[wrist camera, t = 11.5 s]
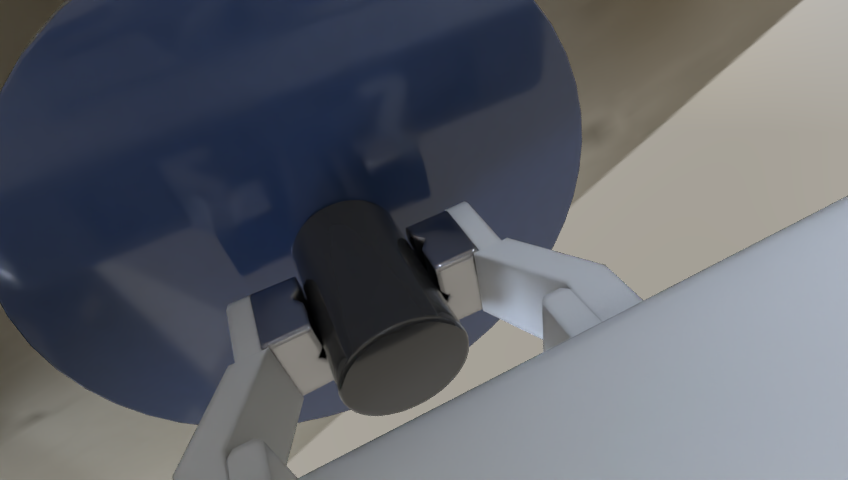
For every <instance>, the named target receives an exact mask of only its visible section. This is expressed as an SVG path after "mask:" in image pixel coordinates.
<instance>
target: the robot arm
mask: <svg viewBox="0 0 848 480" xmlns="http://www.w3.org/2000/svg"><path fill="white" fill-rule="evenodd" d="M406 235H407V239H408V242H409V243H410V245H411V246H412V248H413V250H414V251H415V253H416V254H417V256H418V258H419V259H420V261H421V262H422V264H423V265H424V267H425V268H426V270H427V271H428V273H429V275H430V276H431V278H432V279H433V281H434V282H435V284H436V285H437V287H438V288H439V290H440V292H441V293H442V295H443V296H444V298H445V299H446V301H447V302H448V304H449V305H450V307H451V308H452V310H453V312H454V313H455V315H456V316H457V318H458V319H459V320H460V319H462V318H464V317H466V316H468V315H471V314H473V313H475V312H477V311H480V310H482V309H483V311H485V312H487V313H489V314H491V315H493V316H495V317H497V318H499V319H501V320H504V321H506V322H508V323H510V324H512V325H514V326H516V327H518V328H520V329H522V330H524V331H526V332H528V333H530V334H532V335H534V336H536V337H538V338H540V339H542V340H543V349H544V352H543V353H541V354H539V355H537V356H535V357H533V358H531V359H529V360H527V361H525V362H524V363H521V364H520V365H518V366H516V367H514V368H512V369H510V370H508V371H506V372H504V373H502V374H500V375H498V376H496V377H495V378H492V379H490V380H489V381H487V382H485V383H483V384H481V385H479V386H477V387H475V388H473V389H471V390H469V391H467V392H465V393H463V394H461V395H459V396H458V397H456V398H454V399H452V400H450V401H448V402H446V403H444V404H442V405H440V406H438V407H436V408H434V409H432V410H430V411H428V412H426V413H424V414H422V415H420V416H419V417H417V418H415V419H413V420H411V421H409V422H407V423H405V424H403V425H401V426H399V427H397V428H395V429H393V430H391V431H389V432H387V433H386V434H384V435H382V436H380V437H378V438H376V439H374V440H372V441H370V442H368V443H366V444H364V445H362V446H360V447H358V448H356V449H354V450H352V451H350V452H348V453H346V454H345V455H343V456H341V457H339V458H337V459H335V460H333V461H331V462H329V463H327V464H325V465H323V466H321V467H319V468H317V469H315V470H314V471H311V472H309V473H308V474H306V475H304V476H302V477H300V478H297V477H296V476H295V475H294V474H293V473H292V472H291V470H290V469H289V468H288V467H287V466H286V464H287V461H288V457H289V453H290V449H291V445H292V442H293V438H294V434H295V430H296V427H297V423H298V419H299V415H300V411H301V408H302V404H303V400H304V397H303V396H304V395H306V394H308V393H310V392H312V391H314V390H316V389H318V388H320V387H322V386H323V385H325V384H327V383H329V382H331V381H333V377H332V374H331V371H330V368H329V365H328V362H327V359H326V356H325V353H324V351H323V348H322V344H321V341H320V338H319V335H318V332H317V329H316V326H315V323H314V321H313V318H312V315H311V313H310V310H309V306H308V303H307V300H306V297H305V294H304V292H303V289H302V287H301V285H300V283H299V282H298V280H297V278H296V277H292V278H290V279H287V280H285V281H283V282H280V283H278V284H275V285H273V286H270V287H268V288H265V289H263V290H261V291H258V292H256V293H253V294H251V295H250V296H247V297H245V298H242V299H240V300H237V301H235V302H233V303H230V304H228V305H227V310H226V312H227V318H228V324H229V331H230V337H231V343H232V349H233V356H234V362H235V363H234V364H231V365H229V366H228V367H227V369H226V371H225V373H224V375H223V377H222V379H221V381H220V383H219V385H218V387H217V389H216V391H215V393H214V395H213V397H212V399H211V401H210V403H209V405H208V407H207V409H206V411H205V413H204V415H203V417H202V419H201V421H200V423H199V425H198V427H197V428H196V430H195V432H194V434H193V436H192V438H191V440H190V442H189V444H188V446H187V448H186V450H185V452H184V454H183V456H182V458H181V460H180V462H179V464H178V466H177V468H176V470H175V472H174V474H173V480H848V196H846V197H844V198H842V199H840V200H838V201H836V202H834V203H832V204H830V205H829V206H827V207H825V208H823V209H821V210H819V211H817V212H815V213H813V214H811V215H809V216H807V217H805V218H803V219H801V220H799V221H797V222H796V223H794V224H792V225H790V226H788V227H786V228H784V229H782V230H780V231H778V232H776V233H774V234H772V235H770V236H768V237H766V238H764V239H762V240H761V241H759V242H757V243H755V244H753V245H751V246H749V247H747V248H745V249H743V250H741V251H739V252H738V253H735V254H733V255H731V256H729V257H727V258H726V259H724V260H722V261H720V262H718V263H716V264H714V265H712V266H710V267H708V268H706V269H704V270H702V271H700V272H698V273H696V274H694V275H692V276H690V277H689V278H687V279H685V280H683V281H681V282H679V283H677V284H675V285H673V286H671V287H669V288H667V289H665V290H663V291H661V292H659V293H658V294H656V295H654V296H652V297H650V298H648V299H646V300H644V301H643V300H642V299H641V298H640V297H639V296H638V295H637V294H636V293H635V292H634V291H633V290H631V289H630V288H629V287H628V286H627V285H626V284H625V283H624V282H623V281H622V280H621V279H620V278H619V277H617V275H615V274H614V273H613V272H612V271H611V270H610V269H609V268H608V267H607V266H606V265H604V264H600V263H596V262H593V261H589V260H586V259H582V258H579V257H575V256H571V255H567V254H564V253H560V252H557V251H553V250H550V249H546V248H542V247H539V246H535V245H531V244H528V243H524V242H521V241H517V240H513V239H510V238H506V239H504V240H501V239H500V238H499V237H498V236H497V235H496V234H495V232H494V231H493V230H492V229H491V228H490V227H489V226H488V225H487V224H486V222H485V221H484V220H483V219H482V218H481V217H480V216H479V215H478V214H477V212H476V211H475V210H474V209H473V208H472V207H471V206H470V205H469V204H468V203H467V202H465V201H464V202H461V203H459V204H457V205H455V206H453V207H451V208H448V209H446V210H445V211H443V212H440V213H438V214H436V215H434V216H431V217H429V218H427V219H425V220H422V221H420V222H418V223H416V224H413V225H411V226H409V227H407V228H406Z"/></svg>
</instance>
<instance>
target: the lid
mask: <svg viewBox="0 0 848 480" xmlns="http://www.w3.org/2000/svg"><path fill="white" fill-rule="evenodd" d="M581 147H582V124H581V109H580V103H579V97H578V91H577V85H576V81H575V78H574V75H573V72H572V69H571V66H570V63H569V60H568V57H567V54H566V52H565V50H564V48H563V46H562V44H561V42H560V40H559V38H558V36H557V34H556V32H555V30H554V28H553V26H552V24H551V23H550V21H549V20H548V19H547V17H546V16H545V14H544V13H543V12H542V10H541V9H540V8H539V6H538V5H537V3H536V2H535V1H534V0H65V1H64V2H63V3H62V4H61V5H60V6H59V7H58V8H57V10H56V11H55V12H54V13H53V14H52V16H51V17H50V18H49V19H48V20H47V22H46V23H45V24H44V25H43V26H42V28H41V29H40V30H39V31H38V32H37V34H36V35H35V36H34V37H33V38H32V39H31V41H30V42H29V43H28V44H27V45H26V47H25V49H24V50H23V52H22V53H21V55H20V57H19V59H18V60H17V62H16V64H15V66H14V67H13V69H12V71H11V73H10V75H9V76H8V78H7V80H6V82H5V83H4V85H3V87H2V89H1V90H0V303H1V305H2V307H3V309H4V311H5V313H6V315H7V316H8V318H9V319H10V320H11V321H12V323H13V324H14V325H15V326H16V328H17V329H18V330H19V332H20V333H21V334H22V335H23V337H24V338H25V339H26V340H27V342H28V343H29V344H30V345H31V346H32V347H33V348H34V349H35V350H36V351H37V352H38V353H39V354H40V355H42V356H43V357H44V358H45V359H46V360H47V361H48V362H49V363H50V364H51V365H52V366H54V367H55V368H56V369H57V370H58V371H60V372H61V373H63V374H64V375H66V376H67V377H69V378H70V379H72V380H73V381H75V382H76V383H78V384H79V385H81V386H82V387H84V388H85V389H87V390H89V391H91V392H93V393H95V394H97V395H99V396H101V397H103V398H105V399H107V400H109V401H111V402H113V403H115V404H117V405H120V406H123V407H126V408H129V409H132V410H134V411H137V412H140V413H143V414H146V415H149V416H153V417H158V418H162V419H166V420H170V421H175V422H179V423H187V424H194V425H199V423H200V421H201V419H202V417H203V415H204V413H205V411H206V409H207V407H208V405H209V403H210V401H211V399H212V397H213V395H214V393H215V391H216V389H217V387H218V385H219V383H220V381H221V379H222V377H223V375H224V373H225V371H226V369H227V367H228V366H229V365H231V364H234V363H235V362H234V356H233V349H232V343H231V337H230V331H229V324H228V318H227V312H226V310H227V305H228V304H230V303H233V302H235V301H237V300H240V299H242V298H245V297H247V296H250V295H251V294H253V293H256V292H258V291H261V290H263V289H265V288H268V287H270V286H273V285H275V284H278V283H280V282H283V281H285V280H287V279H290V278H292V277H296V278H297V280H298V282H299V283H300V285H301V287H302V289H303V292H304V294H305V297H306V300H307V303H308V306H309V310H310V313H311V315H312V318H313V321H314V323H315V326H316V329H317V332H318V335H319V338H320V341H321V344H322V348H323V351H324V353H325V356H326V359H327V362H328V365H329V368H330V371H331V374H332V377H333V381H331V382H329V383H327V384H325V385H323V386H322V387H320V388H318V389H316V390H314V391H312V392H310V393H308V394H306V395H304V396H303V397H304V400H303V404H302V408H301V411H300V415H299V419H298V423H299V422H304V421H309V420H313V419H318V418H323V417H328V416H331V415H335V414H338V413H341V412H345V411H348V410H352V411H354V412H356V413H359V414H363V415H368V416H383V415H390V414H394V413H398V412H402V411H405V410H408V409H410V408H413V407H415V406H417V405H419V404H421V403H423V402H425V401H427V400H428V399H430V398H431V397H433V396H435V395H436V394H437V393H439V392H440V391H441V390H442V389H444V388H445V387H446V386H447V385H448V384H449V383H450V382H451V381H452V380H453V379H454V378H455V376H456V375H457V374H458V373H459V371H460V370H461V368H462V366H463V365H464V363H465V361H466V358H467V355H468V351H469V347H470V346H471V345H472V344H473V343H474V342H476V341H477V340H478V339H479V338H480V337H481V336H482V335H484V334H485V333H486V332H487V331H488V330H489V329H490V328H492V327H493V325H494V324H495V323H496V322H497V321H498V320H499V318H497V317H495V316H493V315H491V314H489V313H487V312H485V311H483V309H482V310H480V311H477V312H475V313H473V314H471V315H468V316H466V317H464V318H462V319H460V320H459V319H458V318H457V316H456V315H455V313H454V312H453V310H452V308H451V307H450V305H449V304H448V302H447V301H446V299H445V298H444V296H443V295H442V293H441V292H440V290H439V288H438V287H437V285H436V284H435V282H434V281H433V279H432V278H431V276H430V275H429V273H428V271H427V270H426V268H425V267H424V265H423V264H422V262H421V261H420V259H419V258H418V256H417V254H416V253H415V251H414V250H413V248H412V246H411V245H410V243H409V242H408V239H407V235H406V228H407V227H409V226H411V225H413V224H416V223H418V222H420V221H422V220H425V219H427V218H429V217H431V216H434V215H436V214H438V213H440V212H443V211H445V210H446V209H448V208H451V207H453V206H455V205H457V204H459V203H461V202H464V201H465V202H467V203H468V204H469V205H470V206H471V207H472V208H473V209H474V210H475V211H476V212H477V214H478V215H479V216H480V217H481V218H482V219H483V220H484V221H485V222H486V224H487V225H488V226H489V227H490V228H491V229H492V230H493V231H494V232H495V234H496V235H497V236H498V237H499V238H500V239H501V240H504V239H506V238H510V239H513V240H517V241H521V242H524V243H528V244H531V245H535V246H539V247H542V248H546V249H550V250H552V248H553V246H554V244H555V241H556V240H557V238H558V235H559V233H560V231H561V229H562V227H563V224H564V222H565V220H566V217H567V214H568V211H569V208H570V205H571V202H572V199H573V196H574V191H575V187H576V182H577V178H578V173H579V167H580V157H581Z"/></svg>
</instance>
